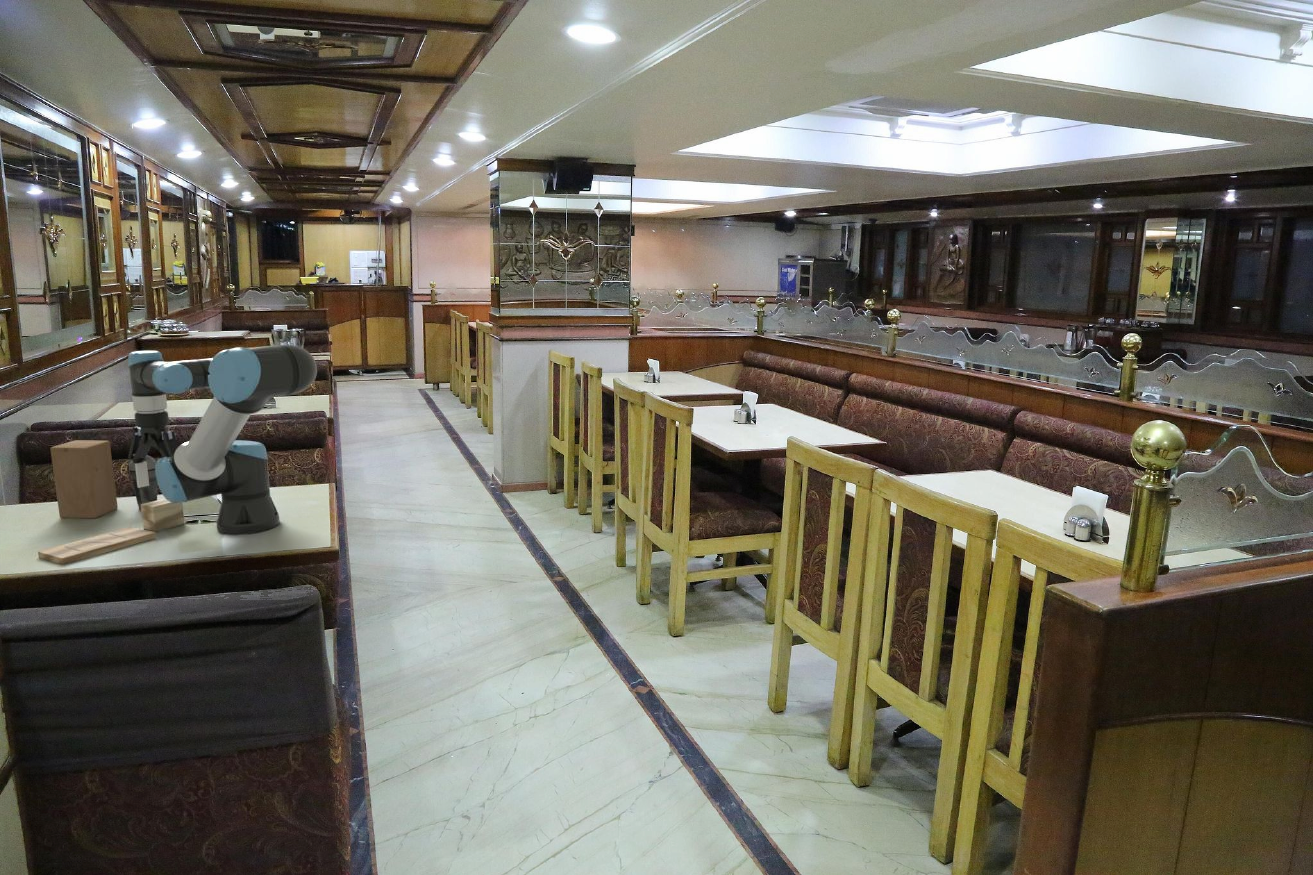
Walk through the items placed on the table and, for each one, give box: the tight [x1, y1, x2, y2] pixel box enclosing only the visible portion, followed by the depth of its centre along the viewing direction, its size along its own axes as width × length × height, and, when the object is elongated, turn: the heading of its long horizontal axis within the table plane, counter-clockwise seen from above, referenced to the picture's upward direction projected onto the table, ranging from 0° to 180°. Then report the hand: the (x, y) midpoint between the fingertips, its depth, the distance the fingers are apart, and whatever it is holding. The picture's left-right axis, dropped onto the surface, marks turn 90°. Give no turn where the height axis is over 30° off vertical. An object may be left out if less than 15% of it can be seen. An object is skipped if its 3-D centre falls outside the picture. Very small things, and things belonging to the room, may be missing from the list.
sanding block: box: [140, 497, 185, 533], centre depth 222 cm, size 5×8×7 cm, turn 153°
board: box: [37, 526, 156, 565], centre depth 206 cm, size 10×22×2 cm, turn 153°
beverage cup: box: [128, 454, 158, 511], centre depth 238 cm, size 7×7×20 cm
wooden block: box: [50, 439, 119, 519], centre depth 232 cm, size 10×10×20 cm
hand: (159, 490), depth 221 cm, fingers open, 13 cm apart
